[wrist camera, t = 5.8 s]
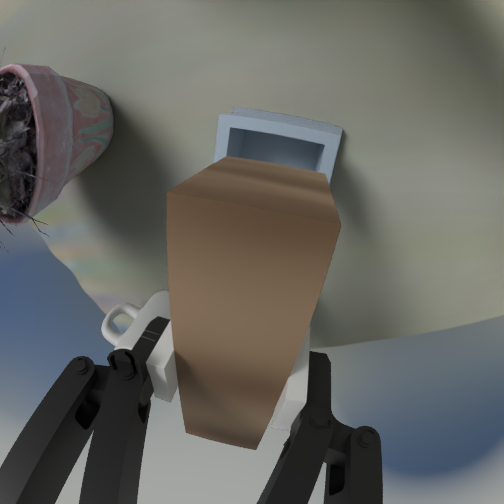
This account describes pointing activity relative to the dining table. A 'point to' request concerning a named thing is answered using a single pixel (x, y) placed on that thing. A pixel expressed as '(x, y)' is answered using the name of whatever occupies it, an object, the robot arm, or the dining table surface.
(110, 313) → the mug
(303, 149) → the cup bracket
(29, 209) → the potted plant
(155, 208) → the dining table surface
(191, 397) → the tapered block
